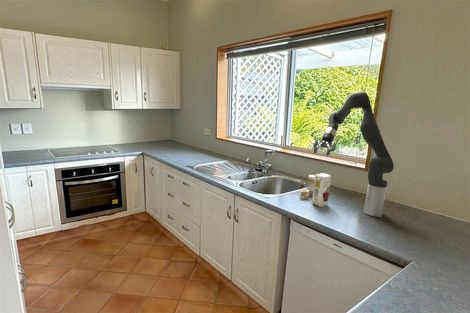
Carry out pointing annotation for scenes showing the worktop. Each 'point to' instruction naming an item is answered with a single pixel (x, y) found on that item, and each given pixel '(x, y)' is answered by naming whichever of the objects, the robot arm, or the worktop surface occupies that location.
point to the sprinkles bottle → (311, 184)
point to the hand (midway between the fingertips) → (320, 153)
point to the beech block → (304, 194)
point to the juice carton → (321, 189)
